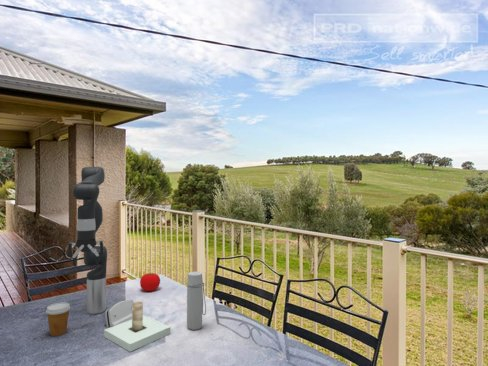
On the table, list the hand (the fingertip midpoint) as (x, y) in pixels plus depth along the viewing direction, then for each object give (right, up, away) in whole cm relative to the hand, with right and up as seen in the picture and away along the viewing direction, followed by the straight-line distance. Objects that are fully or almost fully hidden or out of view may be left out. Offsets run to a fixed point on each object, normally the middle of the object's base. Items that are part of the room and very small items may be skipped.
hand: (86, 265), depth 146 cm
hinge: (+11, -30, +13) cm, 35 cm away
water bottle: (+48, -31, +6) cm, 57 cm away
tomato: (+12, -30, +57) cm, 66 cm away
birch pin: (+24, -30, -2) cm, 38 cm away
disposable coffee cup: (-12, -30, 0) cm, 33 cm away
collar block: (+24, -30, -2) cm, 38 cm away
